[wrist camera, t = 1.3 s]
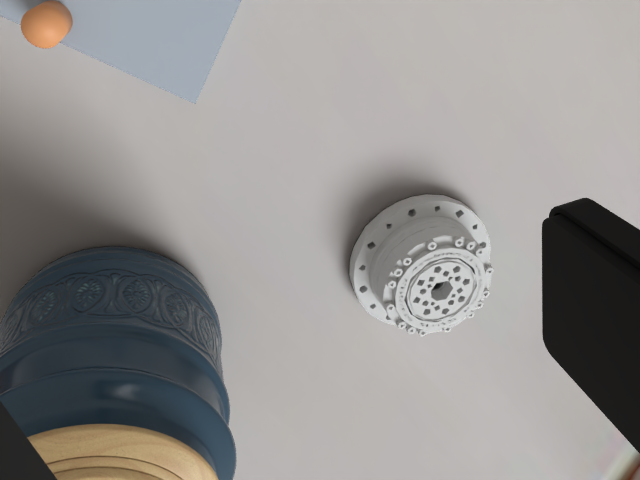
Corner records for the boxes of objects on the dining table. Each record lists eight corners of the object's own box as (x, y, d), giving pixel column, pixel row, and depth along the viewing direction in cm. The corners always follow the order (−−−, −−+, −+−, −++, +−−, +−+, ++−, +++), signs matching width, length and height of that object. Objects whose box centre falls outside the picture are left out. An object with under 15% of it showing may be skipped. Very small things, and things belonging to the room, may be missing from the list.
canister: (-28, 263, 32) (-198, 552, 17) (198, 222, 34) (220, 448, 19) (47, 421, 39) (-30, 731, 24) (233, 378, 41) (270, 639, 26)
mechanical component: (397, 169, 36) (322, 291, 39) (423, 196, 32) (338, 329, 35) (507, 223, 40) (431, 330, 43) (541, 253, 36) (455, 368, 40)
